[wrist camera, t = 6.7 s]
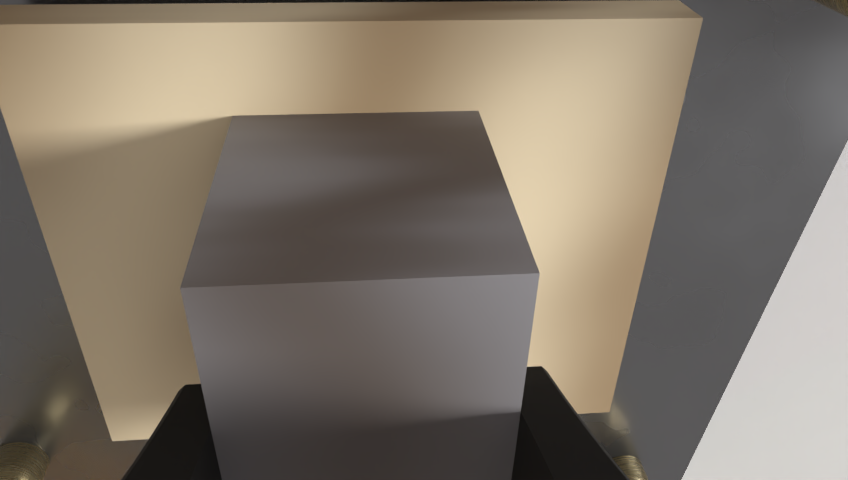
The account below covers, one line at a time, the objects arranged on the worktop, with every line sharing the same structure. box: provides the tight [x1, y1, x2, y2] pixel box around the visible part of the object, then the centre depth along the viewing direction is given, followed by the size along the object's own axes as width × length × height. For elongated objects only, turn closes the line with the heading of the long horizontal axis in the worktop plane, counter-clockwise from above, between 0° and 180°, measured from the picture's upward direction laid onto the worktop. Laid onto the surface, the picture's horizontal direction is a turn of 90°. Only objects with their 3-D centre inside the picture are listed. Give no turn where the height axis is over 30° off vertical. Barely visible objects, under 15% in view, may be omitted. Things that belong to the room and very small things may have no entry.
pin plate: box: [0, 0, 848, 480], centre depth 14 cm, size 19×17×4 cm
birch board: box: [0, 0, 703, 480], centre depth 12 cm, size 11×9×6 cm
